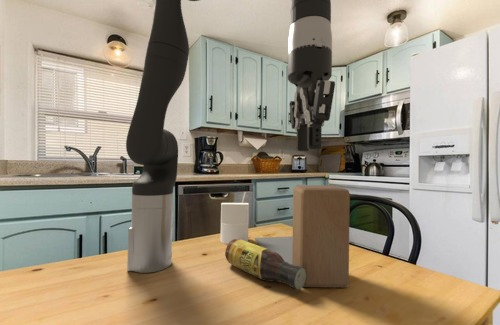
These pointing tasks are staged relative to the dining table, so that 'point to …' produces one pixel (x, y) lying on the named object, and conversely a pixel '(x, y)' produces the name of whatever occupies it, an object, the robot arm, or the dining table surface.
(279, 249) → the mat
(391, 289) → the dining table surface
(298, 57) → the robot arm
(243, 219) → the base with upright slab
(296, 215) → the block
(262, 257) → the sauce bottle
